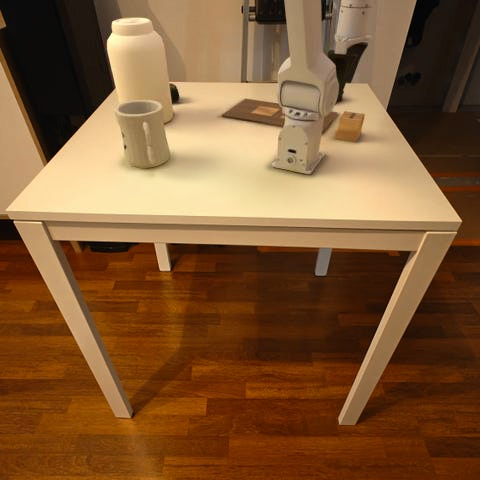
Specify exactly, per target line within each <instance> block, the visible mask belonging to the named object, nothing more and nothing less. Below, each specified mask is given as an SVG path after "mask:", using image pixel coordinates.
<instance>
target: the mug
mask: <svg viewBox="0 0 480 480" xmlns="http://www.w3.org/2000/svg"><path fill="white" fill-rule="evenodd" d="M114 114H115V117H116V120H117V123H118V125H119V129H120V134H121V138H122V143H123V152H124V158H125V159H124V160H125V161H126V162H127V164H129V165H130V166H132V167H135V168H141V169H143V168H147V169H148V168H155V167H159V166H161V165H163V164H166V162H168V161H169V159H170V158H171V151H170V146H169V141H168V139H167V135H166V129H165V123H164V117H163V106H162V104H161V103H159V102H157V101H153V100H134V101H128V102H125V103H122V104H118V105H117V106H116V107H115V108H114Z"/></svg>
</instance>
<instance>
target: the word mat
mask: <svg viewBox="0 0 480 480" xmlns="http://www.w3.org/2000/svg"><path fill="white" fill-rule="evenodd" d="M338 113H339V112H337V111H333V110H332V111H331V112H330V113H329V114H328V115H327V116H324V121H323V128H322V133H324V131H325V130H326V129H327V128H328V127H329V126H330V125H331V124H332V122H333V121H334V119H335V118H336V117H337V116H338ZM221 117H222V118H226V119H233V120H238V121H242V122H243V121H244V122H250V123H257V124H262V125H268V126H274V127H279V128H283V127H284V124H285V117H284V113H282V107H280V105H279V103H278V102H273V101H272V102H271V101H266V100H265V101H264V100H258V99H251V98H244V99H243V100H241V101H240V102H238V103H237V104H235V105H234V106H233V107H231V108H229V109H228V110H226V111H225V112H224V113H222V115H221Z"/></svg>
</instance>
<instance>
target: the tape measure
mask: <svg viewBox="0 0 480 480" xmlns="http://www.w3.org/2000/svg"><path fill="white" fill-rule="evenodd" d="M169 85H170V93H171V101H172V102H178V101H180V98H181V97H180V92H179V89H178V88H177V85H176V84H174V83H171V82H169Z"/></svg>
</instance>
